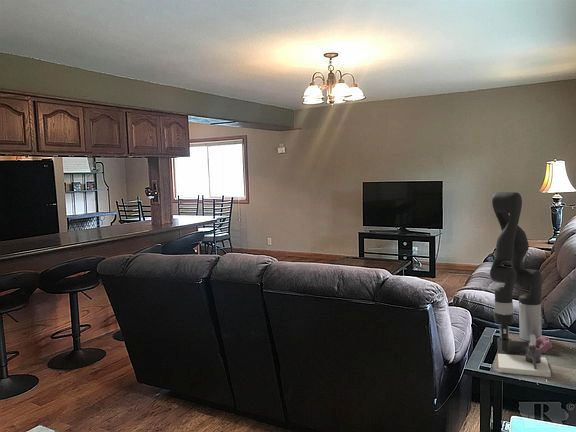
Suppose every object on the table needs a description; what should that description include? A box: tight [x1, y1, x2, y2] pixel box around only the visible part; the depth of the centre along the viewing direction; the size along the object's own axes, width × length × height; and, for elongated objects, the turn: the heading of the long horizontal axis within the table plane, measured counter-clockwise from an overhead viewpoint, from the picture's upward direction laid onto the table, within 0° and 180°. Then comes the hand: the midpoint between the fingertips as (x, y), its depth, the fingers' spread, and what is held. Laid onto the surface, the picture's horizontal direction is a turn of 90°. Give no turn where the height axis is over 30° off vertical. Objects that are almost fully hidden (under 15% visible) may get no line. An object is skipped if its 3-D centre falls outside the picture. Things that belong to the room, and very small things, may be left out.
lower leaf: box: [524, 334, 542, 369], centre depth 184 cm, size 11×6×11 cm, turn 157°
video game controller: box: [536, 335, 553, 354], centre depth 203 cm, size 10×5×7 cm, turn 169°
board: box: [497, 353, 552, 378], centre depth 187 cm, size 15×18×2 cm
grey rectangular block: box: [496, 336, 530, 355], centre depth 201 cm, size 6×12×6 cm, turn 67°
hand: (504, 347), depth 202 cm, fingers open, 8 cm apart
